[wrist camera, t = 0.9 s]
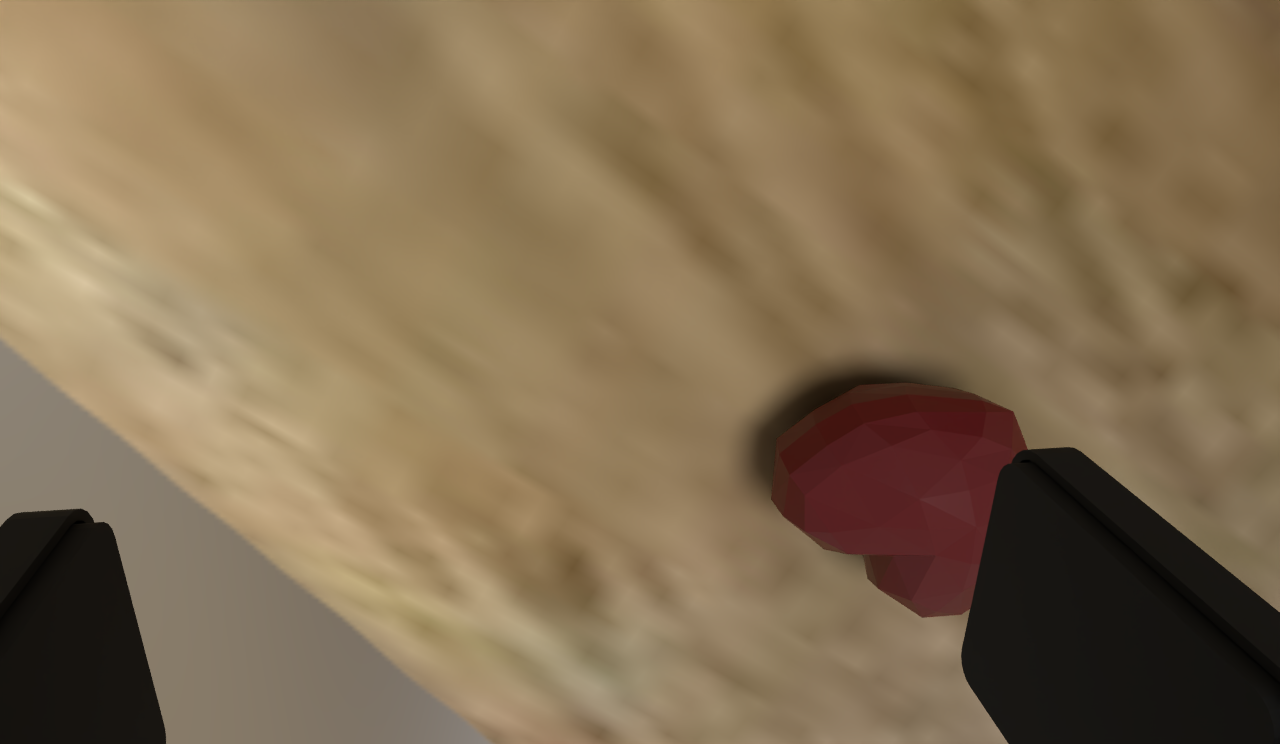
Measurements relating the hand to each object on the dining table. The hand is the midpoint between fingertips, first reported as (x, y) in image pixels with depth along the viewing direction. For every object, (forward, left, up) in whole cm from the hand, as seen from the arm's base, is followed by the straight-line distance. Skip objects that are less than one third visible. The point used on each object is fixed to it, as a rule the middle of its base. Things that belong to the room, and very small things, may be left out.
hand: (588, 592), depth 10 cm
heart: (+13, +17, -27) cm, 35 cm away
